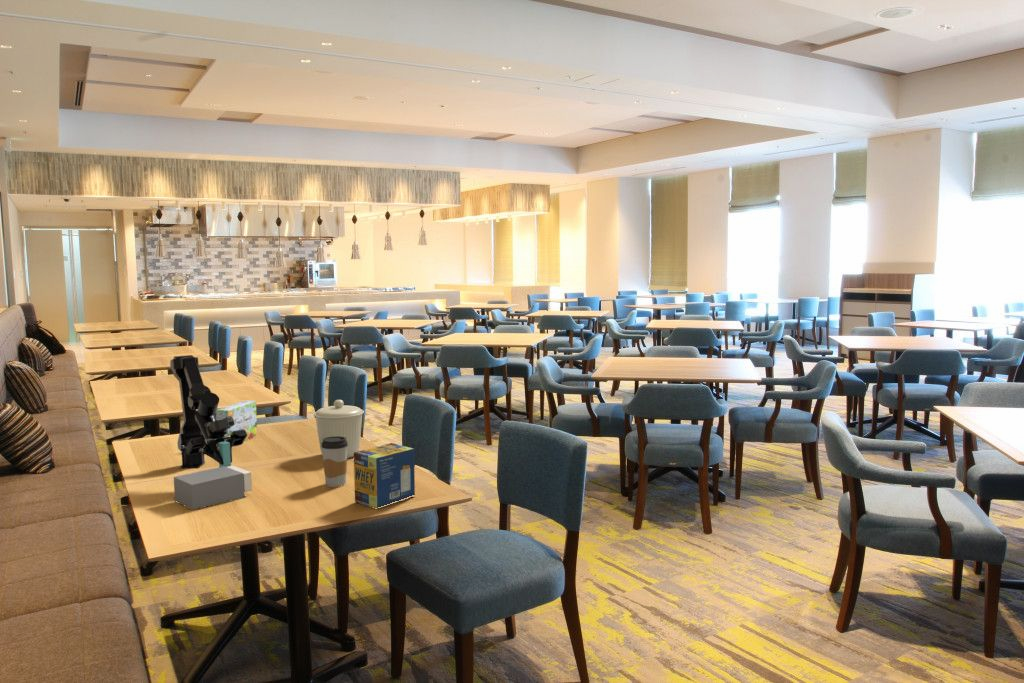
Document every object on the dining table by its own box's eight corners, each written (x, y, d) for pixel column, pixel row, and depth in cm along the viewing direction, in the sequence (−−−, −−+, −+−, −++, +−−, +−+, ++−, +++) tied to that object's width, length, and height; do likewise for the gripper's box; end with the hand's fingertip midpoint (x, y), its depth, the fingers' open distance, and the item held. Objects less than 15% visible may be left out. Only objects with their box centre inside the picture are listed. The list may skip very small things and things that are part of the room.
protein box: (354, 502, 231) (352, 452, 229) (393, 490, 242) (392, 442, 241) (376, 510, 224) (375, 458, 222) (416, 497, 236) (415, 447, 234)
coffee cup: (353, 481, 252) (352, 436, 250) (340, 489, 244) (338, 442, 242) (331, 479, 255) (330, 435, 253) (317, 486, 247) (315, 440, 245)
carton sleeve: (193, 510, 225) (191, 484, 224) (175, 501, 233) (173, 477, 232) (244, 497, 236) (243, 473, 235) (225, 489, 244) (224, 466, 243)
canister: (311, 453, 289) (309, 397, 287) (358, 447, 297) (357, 393, 294) (320, 464, 273) (318, 406, 271) (370, 459, 280) (368, 401, 278)
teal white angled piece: (198, 503, 226) (195, 460, 224) (174, 492, 236) (172, 451, 235) (252, 490, 238) (250, 449, 237) (227, 480, 249) (225, 441, 247)
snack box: (229, 448, 297) (227, 410, 295) (216, 448, 298) (214, 409, 296) (258, 436, 318) (256, 400, 316) (245, 435, 319) (244, 399, 317)
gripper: (187, 413, 240) (206, 454, 234) (243, 405, 254) (262, 443, 248) (177, 434, 246) (195, 474, 240) (232, 425, 260) (250, 462, 254)
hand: (227, 463), depth 245 cm, fingers closed on teal white angled piece, 2 cm apart
